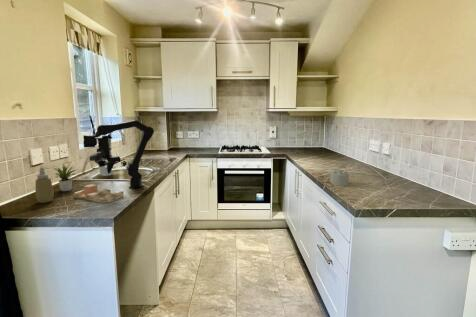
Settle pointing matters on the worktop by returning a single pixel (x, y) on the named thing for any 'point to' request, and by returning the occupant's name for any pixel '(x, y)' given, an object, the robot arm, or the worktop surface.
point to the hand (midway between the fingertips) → (106, 173)
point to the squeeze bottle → (44, 187)
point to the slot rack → (99, 195)
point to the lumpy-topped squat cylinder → (339, 177)
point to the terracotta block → (90, 189)
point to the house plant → (65, 178)
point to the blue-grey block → (104, 171)
